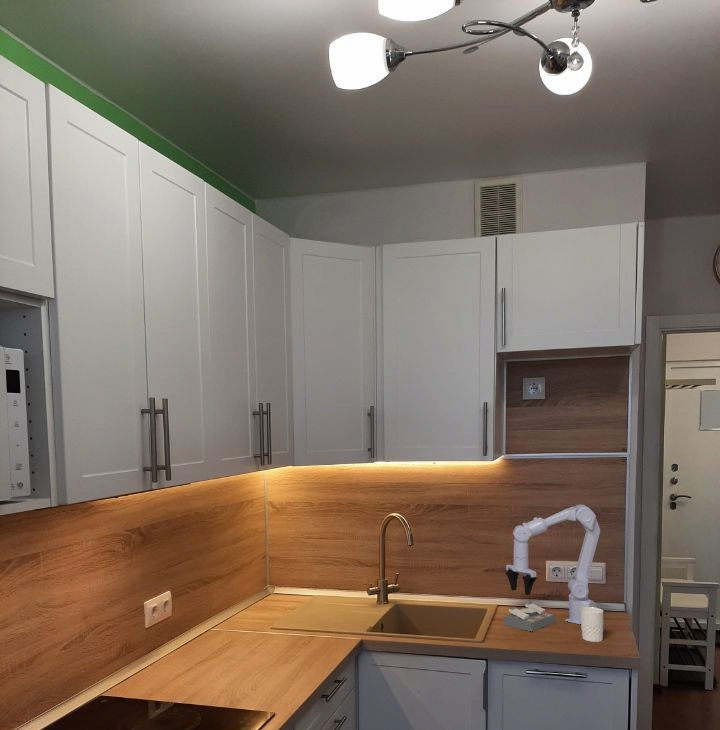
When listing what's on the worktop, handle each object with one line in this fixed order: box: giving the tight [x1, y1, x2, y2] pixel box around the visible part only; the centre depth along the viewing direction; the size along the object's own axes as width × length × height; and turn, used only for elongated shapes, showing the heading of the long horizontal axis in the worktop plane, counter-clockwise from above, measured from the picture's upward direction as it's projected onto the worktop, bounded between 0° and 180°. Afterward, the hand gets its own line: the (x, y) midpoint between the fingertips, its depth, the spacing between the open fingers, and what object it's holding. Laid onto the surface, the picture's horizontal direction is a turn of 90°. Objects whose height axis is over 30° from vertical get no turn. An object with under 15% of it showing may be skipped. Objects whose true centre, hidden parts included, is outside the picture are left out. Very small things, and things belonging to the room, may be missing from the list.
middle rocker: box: [518, 607, 537, 613], centre depth 249 cm, size 7×4×1 cm, turn 44°
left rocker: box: [508, 606, 529, 620], centre depth 245 cm, size 7×4×1 cm, turn 41°
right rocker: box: [525, 601, 546, 614], centre depth 252 cm, size 7×4×1 cm, turn 41°
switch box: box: [503, 612, 556, 633], centre depth 247 cm, size 12×16×4 cm
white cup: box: [580, 607, 604, 643], centre depth 230 cm, size 8×8×10 cm
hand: (520, 592), depth 255 cm, fingers open, 7 cm apart
